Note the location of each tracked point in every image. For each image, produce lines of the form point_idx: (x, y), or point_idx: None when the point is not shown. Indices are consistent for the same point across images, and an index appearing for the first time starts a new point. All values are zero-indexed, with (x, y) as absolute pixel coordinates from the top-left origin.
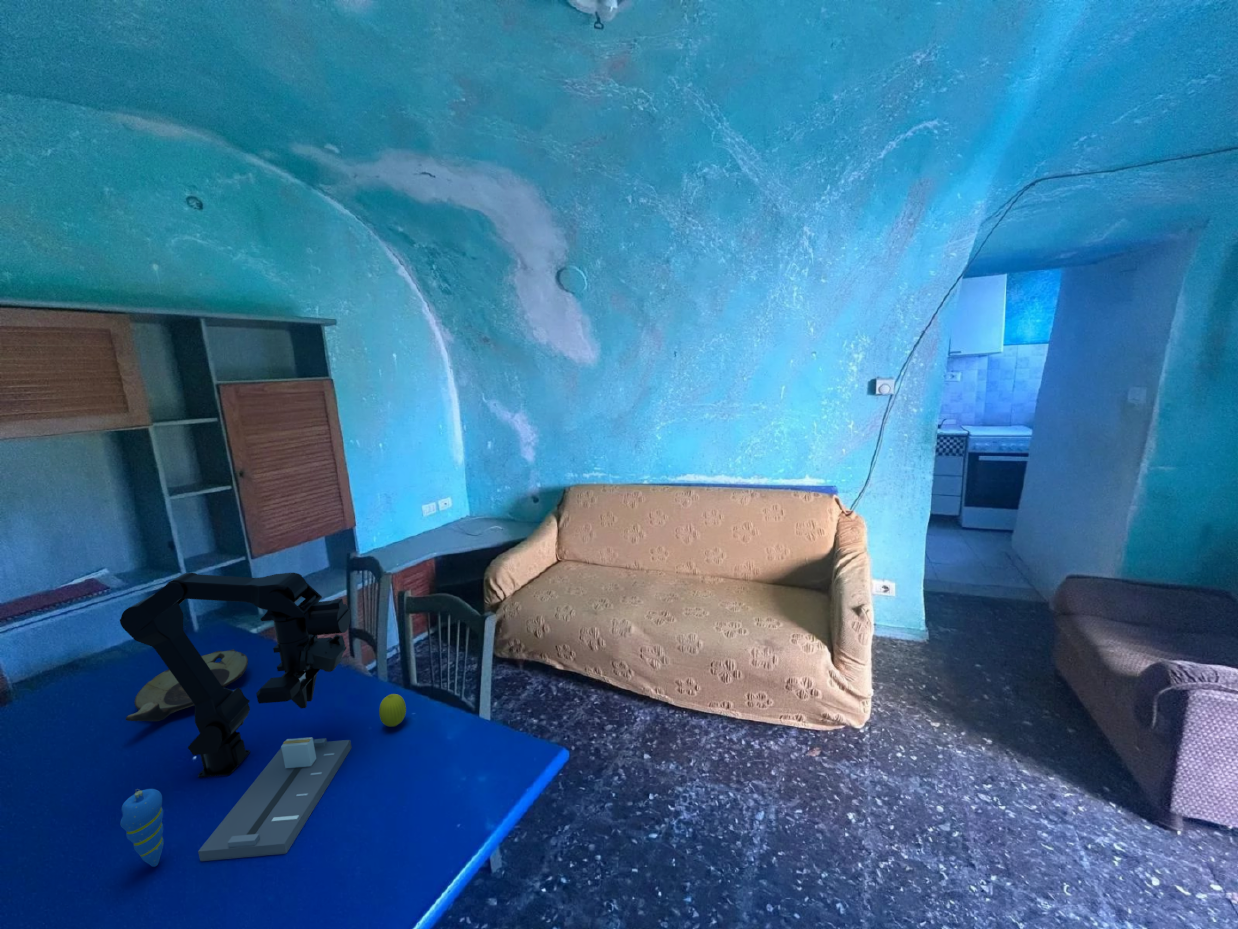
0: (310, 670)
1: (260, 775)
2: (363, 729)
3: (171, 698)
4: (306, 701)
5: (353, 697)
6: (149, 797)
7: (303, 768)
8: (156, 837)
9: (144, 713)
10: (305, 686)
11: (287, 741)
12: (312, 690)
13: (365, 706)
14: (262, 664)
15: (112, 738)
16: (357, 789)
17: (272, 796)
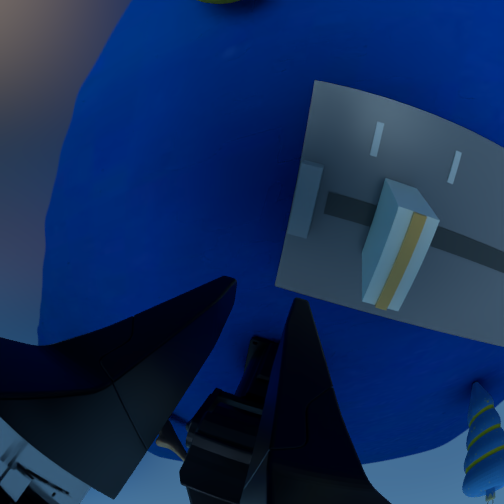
0: (57, 452)
1: (382, 313)
2: (232, 71)
3: None
4: (293, 322)
5: (101, 156)
6: (502, 483)
7: None
8: (498, 418)
9: (174, 448)
10: (291, 468)
11: (383, 298)
12: (192, 312)
13: (133, 106)
14: (61, 329)
15: None
16: (495, 57)
17: (477, 268)
